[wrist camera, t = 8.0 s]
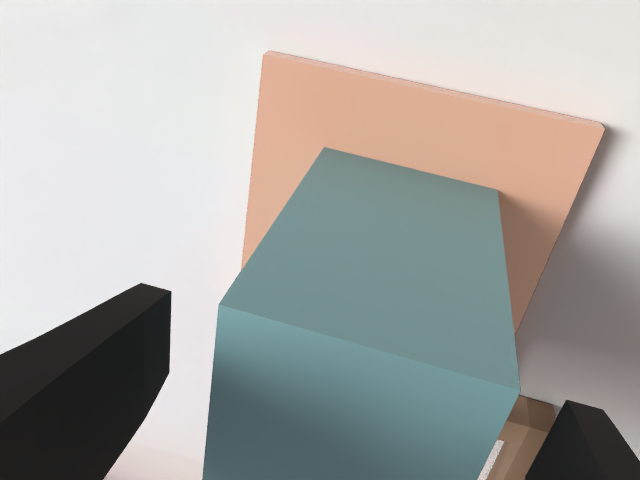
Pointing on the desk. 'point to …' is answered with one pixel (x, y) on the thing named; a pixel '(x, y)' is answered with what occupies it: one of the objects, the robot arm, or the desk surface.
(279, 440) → the teal block
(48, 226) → the desk surface
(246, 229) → the terracotta tile
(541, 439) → the pocket frame
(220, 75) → the desk surface
